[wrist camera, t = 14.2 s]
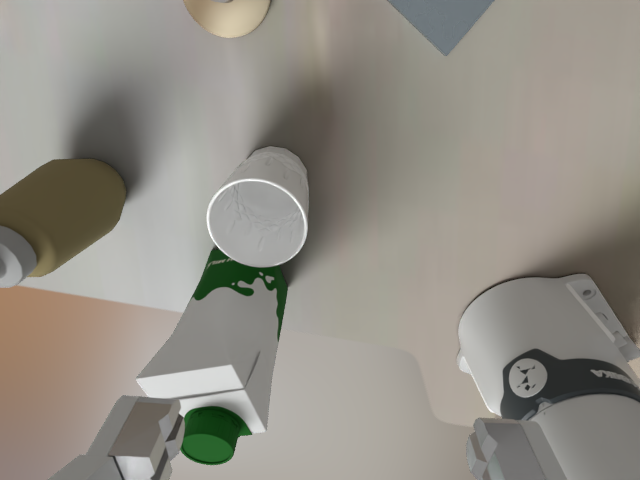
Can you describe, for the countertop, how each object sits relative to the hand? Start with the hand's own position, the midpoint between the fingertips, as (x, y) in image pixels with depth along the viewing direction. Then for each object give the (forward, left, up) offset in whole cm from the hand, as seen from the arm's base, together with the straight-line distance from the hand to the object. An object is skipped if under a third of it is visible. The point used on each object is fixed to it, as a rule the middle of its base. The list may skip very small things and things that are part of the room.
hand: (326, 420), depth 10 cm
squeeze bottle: (+16, +19, -29) cm, 38 cm away
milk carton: (-2, +18, -29) cm, 34 cm away
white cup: (+2, +7, -29) cm, 30 cm away
